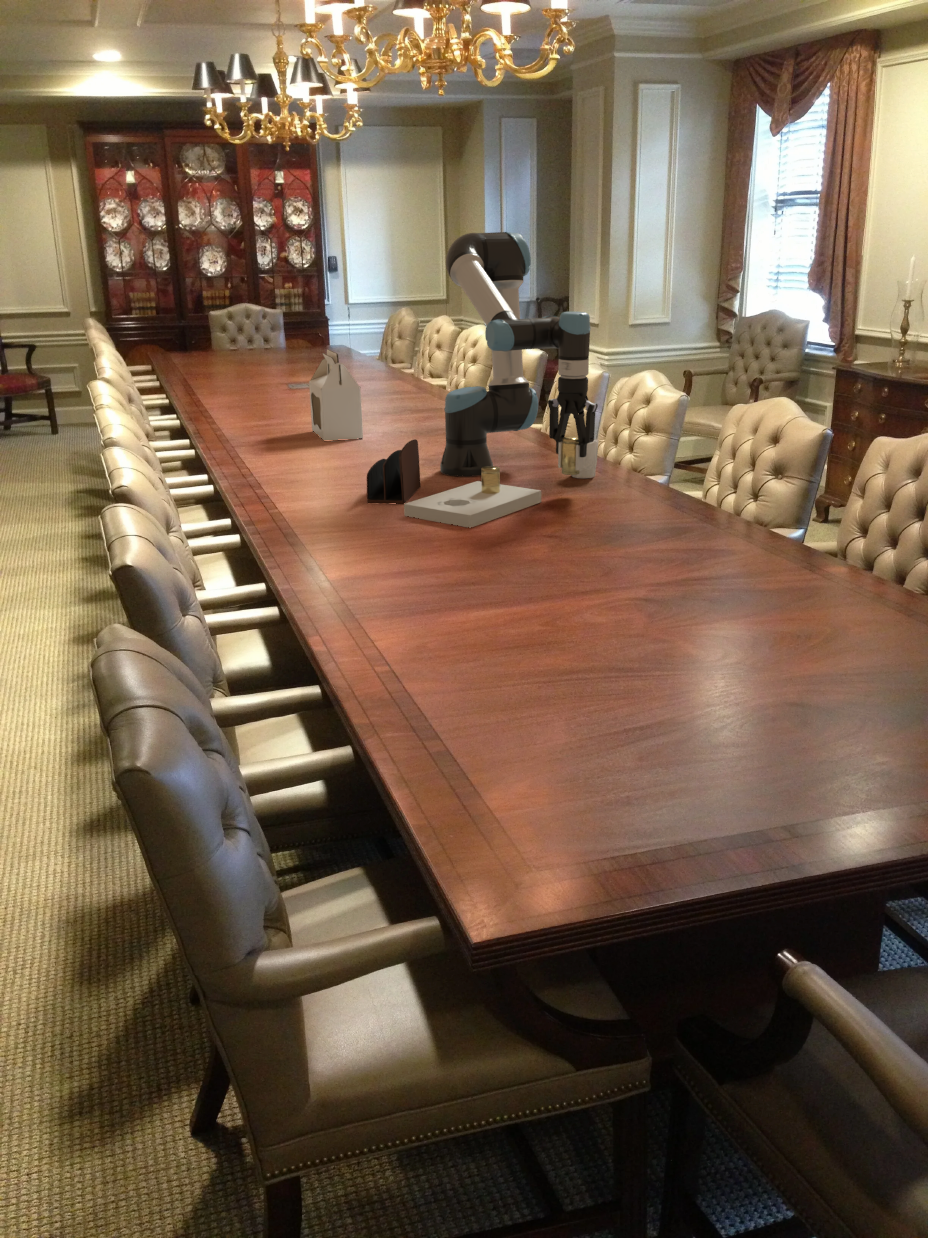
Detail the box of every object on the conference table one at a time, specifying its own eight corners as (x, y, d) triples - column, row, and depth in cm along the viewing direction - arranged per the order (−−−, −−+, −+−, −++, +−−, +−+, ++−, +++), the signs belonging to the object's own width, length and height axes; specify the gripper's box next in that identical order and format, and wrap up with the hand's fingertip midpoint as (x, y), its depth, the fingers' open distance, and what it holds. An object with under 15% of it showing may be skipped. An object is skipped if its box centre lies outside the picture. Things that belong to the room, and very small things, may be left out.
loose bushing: (558, 473, 273) (559, 438, 270) (567, 470, 277) (568, 435, 274) (573, 475, 271) (574, 440, 268) (583, 472, 274) (584, 437, 271)
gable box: (312, 431, 371) (306, 349, 362) (348, 428, 375) (344, 347, 365) (324, 442, 351) (319, 355, 342) (363, 439, 355) (359, 353, 346)
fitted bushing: (478, 503, 268) (477, 468, 265) (488, 500, 271) (488, 465, 268) (492, 506, 265) (492, 470, 262) (503, 502, 268) (503, 467, 265)
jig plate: (404, 515, 257) (404, 503, 256) (477, 492, 280) (477, 480, 279) (470, 527, 246) (470, 515, 245) (541, 501, 268) (541, 490, 267)
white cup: (596, 479, 292) (597, 443, 288) (567, 478, 293) (568, 442, 290) (598, 473, 299) (599, 437, 296) (570, 472, 301) (571, 437, 297)
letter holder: (421, 487, 287) (419, 435, 282) (404, 505, 268) (402, 449, 264) (385, 486, 288) (382, 435, 284) (366, 504, 270) (363, 449, 265)
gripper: (535, 375, 267) (534, 466, 276) (596, 380, 257) (592, 475, 266) (551, 371, 273) (549, 460, 281) (611, 377, 263) (607, 469, 271)
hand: (570, 467), depth 273 cm, fingers closed on loose bushing, 4 cm apart
